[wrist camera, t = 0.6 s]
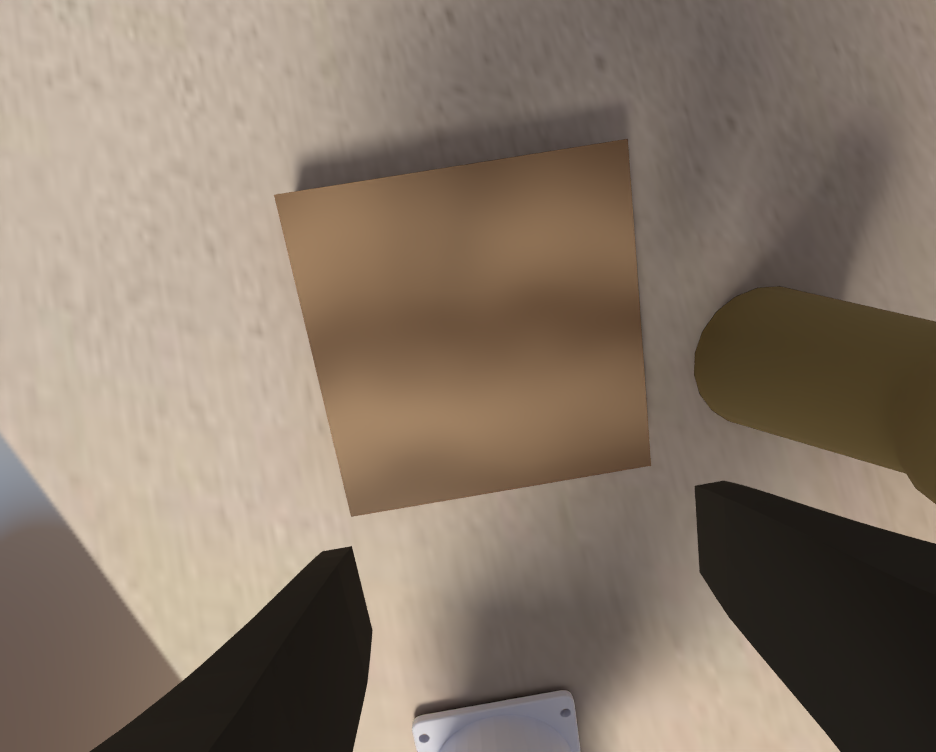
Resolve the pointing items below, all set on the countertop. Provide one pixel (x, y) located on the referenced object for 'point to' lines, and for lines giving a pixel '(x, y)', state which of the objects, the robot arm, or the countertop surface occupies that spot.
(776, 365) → the olive tapered knobbed peg
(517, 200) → the walnut base
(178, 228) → the countertop surface
